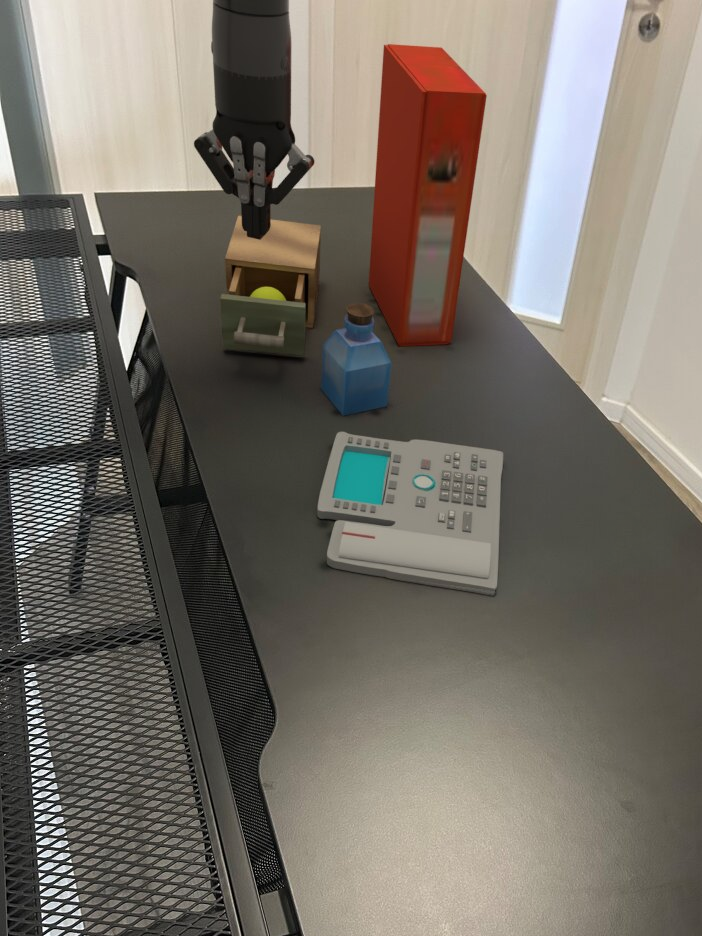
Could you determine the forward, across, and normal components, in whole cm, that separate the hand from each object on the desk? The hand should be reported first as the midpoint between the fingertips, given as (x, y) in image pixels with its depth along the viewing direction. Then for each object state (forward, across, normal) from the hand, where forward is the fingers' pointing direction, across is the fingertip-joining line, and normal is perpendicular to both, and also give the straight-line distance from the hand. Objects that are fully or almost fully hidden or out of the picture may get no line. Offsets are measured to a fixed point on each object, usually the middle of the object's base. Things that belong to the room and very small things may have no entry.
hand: (256, 235), depth 96 cm
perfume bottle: (+18, -12, 0) cm, 22 cm away
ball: (+16, +2, -9) cm, 18 cm away
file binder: (+18, -14, -24) cm, 33 cm away
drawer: (+17, +2, -8) cm, 19 cm away
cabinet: (+18, +5, -19) cm, 27 cm away
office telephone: (+18, -24, +19) cm, 36 cm away
